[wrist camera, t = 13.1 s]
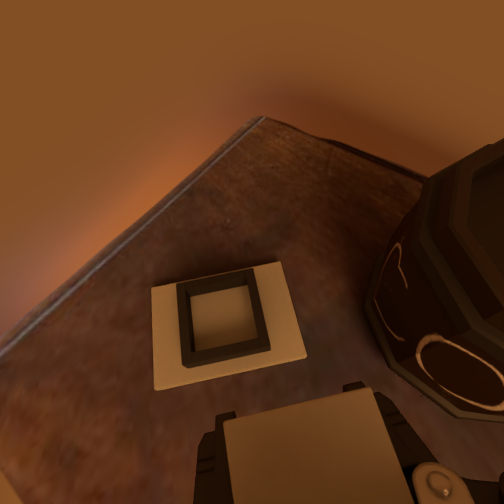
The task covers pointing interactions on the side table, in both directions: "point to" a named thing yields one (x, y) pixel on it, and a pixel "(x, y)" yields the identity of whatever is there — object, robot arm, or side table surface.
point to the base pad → (223, 326)
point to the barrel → (448, 289)
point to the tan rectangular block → (315, 454)
